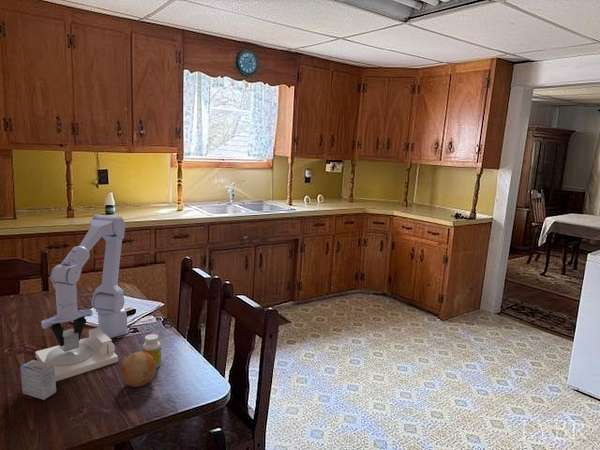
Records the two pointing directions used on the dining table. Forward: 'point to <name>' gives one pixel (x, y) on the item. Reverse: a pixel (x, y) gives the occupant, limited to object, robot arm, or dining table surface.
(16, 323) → the dining table surface
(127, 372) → the onion
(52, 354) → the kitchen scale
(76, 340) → the steel weight
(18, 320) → the dining table surface
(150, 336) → the supplement bottle
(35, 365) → the medicine box
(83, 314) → the robot arm
